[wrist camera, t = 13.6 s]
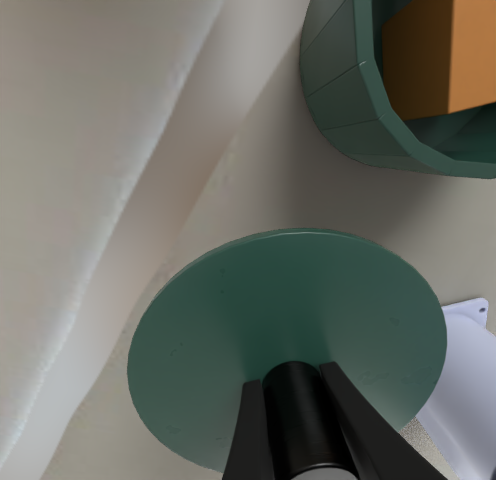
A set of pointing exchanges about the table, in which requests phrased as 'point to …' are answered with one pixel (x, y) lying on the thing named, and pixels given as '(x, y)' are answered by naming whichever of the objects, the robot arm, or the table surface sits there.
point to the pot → (382, 98)
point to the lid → (285, 346)
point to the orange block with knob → (440, 57)
